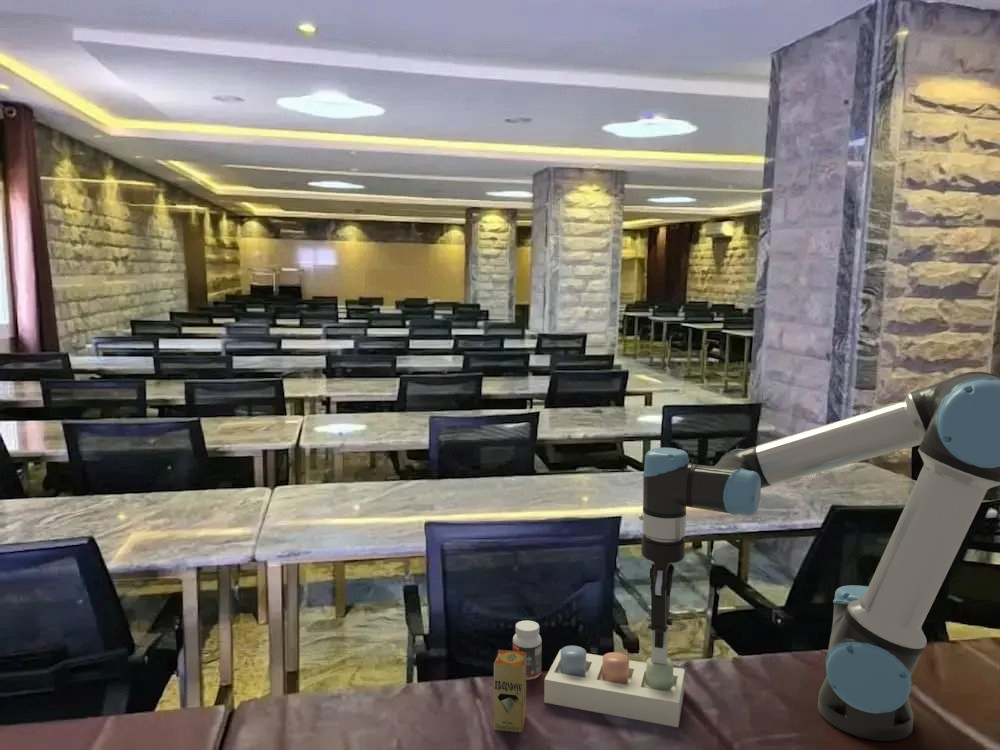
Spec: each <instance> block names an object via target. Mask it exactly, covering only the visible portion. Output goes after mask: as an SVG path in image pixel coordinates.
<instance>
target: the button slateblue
mask: <svg viewBox="0 0 1000 750" xmlns="http://www.w3.org/2000/svg"><path fill="white" fill-rule="evenodd" d="M586 653H587V651H586V649H585V648H583V647H582V646H578V645H566V646H563V647H562V648H561V671H560V672H561V674H567V675H573V676H579V677H583V676H585V674H586Z"/></svg>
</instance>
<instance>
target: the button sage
mask: <svg viewBox="0 0 1000 750" xmlns="http://www.w3.org/2000/svg"><path fill="white" fill-rule="evenodd" d="M645 663H646V684H647V686H648V687H650V688H652V689H655V690H661V691H665V690H669V689H671V688H672V687H673V667H674V662H673V660H671V658H668V657H667V663H666V664H660V663H654V662H651V656H650V657H648V658H647V659H646V662H645Z"/></svg>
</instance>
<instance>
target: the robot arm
mask: <svg viewBox="0 0 1000 750" xmlns="http://www.w3.org/2000/svg"><path fill="white" fill-rule="evenodd" d="M917 446H918V449H917V451H918V453H919V455H920V457H921V459H922V462H923V466H922V468H921V470H920V472H919V475H918V477H917V480H916V481H915V484H914V486H913V487H912V490H911V492H910V495H909V497H908V498H907V501H906V503H905V506H904V508H903V510H902V512H901V514H900V516H899V519H898V521H897V523H896V526H895V528H894V530H893V532H892V534H891V536H890V538H889V541H888V543H887V545H886V547H885V550H884V552H883V554H882V556H881V558H880V561H879V563H878V564H877V566H876V570H875V572H874V574H873V576H872V578H871V581H870V582H869V585H868V586H867V585H854V584H852V585H843V586H840V587H838V588H836V590H835V591H834V593H835V594H834V599H833V600H832V603H833V616H832V625H831V634H830V638H829V644H828V650H827V655H826V657H825V661H824V662H825V664H824V666H825V672H826V676H825V678H824V681H823V683H822V685H821V687H820V689H819V692H818V694H817V695H818V697H817V699H818V700H817V709H818V712H819V714H820V715H821V716H822V718H823V719H824V720H825V721H827V723H829V724H830V725H832V727H835V728H837V729H839V730H840V731H843V732H844V733H847V734H849V735H852V736H855V737H858V738H861V739H865V740H871V741H876V742H878V741H879V742H894V741H895V742H896V741H901V740H903V739H905V738H907V737H909V736H910V735H911V734H912V732H913V728H914V712H913V709H912V705H911V701H910V699H909V696H910V694H911V691H912V686H913V682H912V675H913V673H914V670H915V668H916V667H917V664H918V662H919V660H920V658H921V656H922V653H923V652H924V650H925V648H926V646H927V643H928V642H927V638H926V635H925V634H924V631H923V629H922V626H923V625H924V622H925V620H926V618H927V615H928V613H929V612H930V609H931V608H932V605H933V603H934V602H935V600H936V597H937V595H938V593H939V591H940V589H941V588H942V585H943V583H944V581H945V579H946V576H947V574H948V572H949V570H950V568H951V567H952V564H953V562H954V560H955V558H956V556H957V554H958V552H959V550H960V548H961V546H962V543H963V541H964V539H965V538H966V535H967V533H968V531H969V528H970V526H971V525H972V523H973V520H974V519H975V516H976V515H977V512H978V511H979V508H980V506H981V504H982V502H983V500H984V499H985V496H986V494H987V492H988V490H989V489H991V488H995V487H998V486H1000V376H999V375H997V374H994V373H990V372H984V371H970V372H965V373H964V372H963V373H959V374H957V375H954V376H952V377H949V378H946V379H944V380H941V381H940V382H938V383H934V384H932V385H929V386H926V387H924V388H921V389H918V390H914V391H911V392H908V393H907V394H906V397H905V398H904V400H903V401H900V402H897V403H893V404H889V405H887V406H884V407H880V408H877V409H873V410H870V411H867V412H863V413H861V414H857V415H853V416H850V417H847V418H844V419H841V420H838V421H834V422H830V423H827V424H823V425H820V426H817V427H814V428H811V429H808V430H804V431H801V432H798V433H795V434H791V435H788V436H783V437H780V438H778V439H774V440H772V441H769V442H765V443H762V444H757V446H756V445H755V446H752V447H749V448H736V449H733V450H731V451H729V452H725V454H724V455H722V456H721V457H720V459H719V461H718V462H717V463H716V464H715V465H704V464H703V465H702V464H698V463H697V464H695V463H691V462H690V460H689V453H687V451H686V450H683V449H678V448H674V447H655V448H654V447H653V448H651V449H650V450H648V451H647V452H646V453H645V457H644V465H643V466H644V468H643V473H642V477H643V481H642V482H643V485H642V487H643V490H642V492H643V493H642V496H643V497H642V514H639V517H638V519H639V520H640V521H642V531H641V532H642V533H643V534H642V536H641V552H640V553H641V555H642V556H643V558H645V560H648V561H651V562H652V563H651V567H650V568H649V578H650V596H651V597H650V599H651V600H650V605H651V608H650V609H651V613H650V614H651V617H650V619H651V621H650V623H648V626H647V629H648V630H649V629H650V630H651V648H650V649H651V651H650V652H651V655H650V657H651V662H654V663H660V664H666V663H667V658H668V646H669V645H668V644H669V642H668V641H669V626H673V620H669V618H670V615H671V612H670V607H671V605H670V604H671V592H672V588H673V577H674V575H675V574H674V573H675V565H674V564H675V563H679V562H681V561H682V560H684V558H685V551H686V549H685V547H686V540H685V537H686V530H687V507H688V508H692V509H693V508H694V509H700V510H705V511H712V512H719V513H725V514H730V515H735V516H737V515H739V516H740V515H741V516H742V515H743V516H752V515H755V514H756V513H757V512H758V510H759V505H760V500H761V490H762V489H763V488H766V487H770V486H772V485H776V484H777V485H778V484H781V483H783V482H787V481H792V480H795V479H798V478H802V477H805V476H809V475H814V474H817V473H821V472H825V471H828V470H833V469H836V468H839V467H843V466H846V465H850V464H854V463H858V462H862V461H865V460H869V459H873V458H876V457H881V456H884V455H887V454H891V453H895V452H898V451H903V450H906V449H910V448H913V447H917Z"/></svg>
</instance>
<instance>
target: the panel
mask: <svg viewBox="0 0 1000 750" xmlns="http://www.w3.org/2000/svg"><path fill="white" fill-rule="evenodd" d="M561 649H562V648H561ZM561 649H559V651H558V653H557V654H556V657H555V659H553V663H552V664H551V666H550V668H549V670H548V672H547V674H546V676H544V677H545V678H544V681H543V682H544V690H543V691H544V697H543V701H544V704H550V705H556V706H560V707H566V708H572V709H577V710H578V709H579V710H582V711H588V712H591V713H592V712H593V713H598V714H599V713H600V714H604V715H610V716H615V717H620V718H626V719H630V720H638V721H642V722H648V723H653V724H657V725H658V724H659V725H664V726H668V727H669V726H670V727H673V728H679V726H680V719H681V712H682V707H683V700H684V695H685V694H684V693H685V673H686V670H685V669H684V668H681V667H674V666H673V687H672V688H671V689H669V690H665V691H661V690H655V689H652V688H650V687H648V686H647V684H646V662H643V661H637V660H630V659H629V681H628V683H627V684H620V683H614V682H608V681H603V679H602V673H603V656H604V655H599V654H592V653H587V652H586V674H585V676H583V677H579V676H573V675H567V674H561V672H560V671H561Z"/></svg>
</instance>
